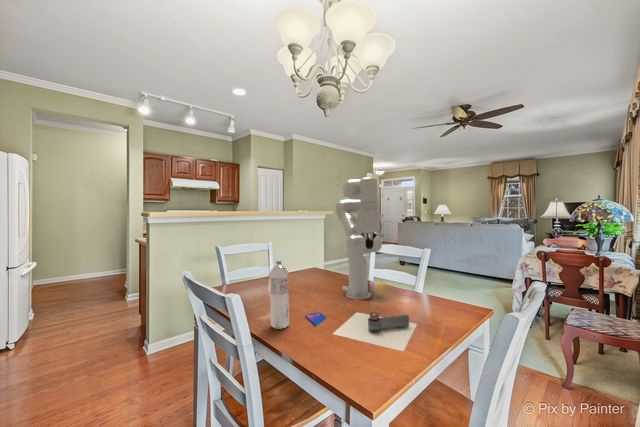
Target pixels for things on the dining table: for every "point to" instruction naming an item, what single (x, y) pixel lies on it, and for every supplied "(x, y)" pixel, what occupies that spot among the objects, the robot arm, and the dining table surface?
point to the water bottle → (279, 296)
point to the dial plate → (386, 338)
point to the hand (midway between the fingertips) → (369, 248)
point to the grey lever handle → (386, 322)
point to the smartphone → (316, 318)
